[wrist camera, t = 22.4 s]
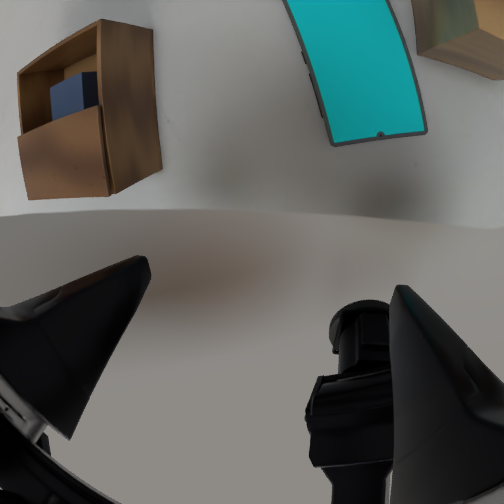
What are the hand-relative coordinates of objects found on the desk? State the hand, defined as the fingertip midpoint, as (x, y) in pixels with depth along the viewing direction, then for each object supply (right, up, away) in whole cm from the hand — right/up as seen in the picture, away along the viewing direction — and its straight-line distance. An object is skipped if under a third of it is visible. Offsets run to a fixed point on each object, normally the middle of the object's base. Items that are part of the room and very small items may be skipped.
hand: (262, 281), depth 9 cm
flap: (-15, +8, +7) cm, 19 cm away
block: (-14, +15, +10) cm, 23 cm away
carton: (-14, +14, +11) cm, 23 cm away
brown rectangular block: (+14, +17, +1) cm, 23 cm away
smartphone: (+6, +15, +5) cm, 17 cm away
